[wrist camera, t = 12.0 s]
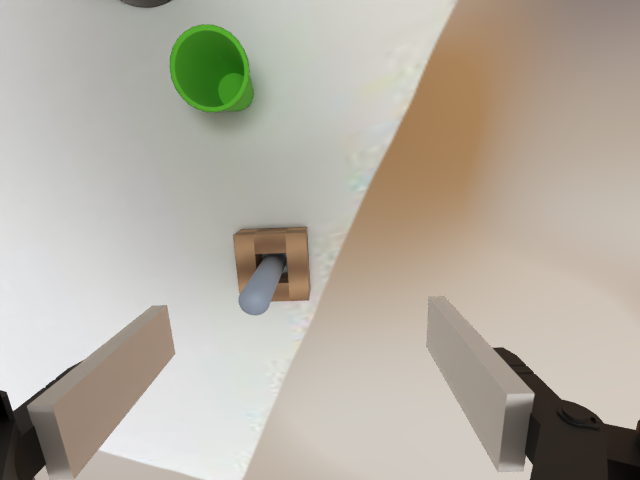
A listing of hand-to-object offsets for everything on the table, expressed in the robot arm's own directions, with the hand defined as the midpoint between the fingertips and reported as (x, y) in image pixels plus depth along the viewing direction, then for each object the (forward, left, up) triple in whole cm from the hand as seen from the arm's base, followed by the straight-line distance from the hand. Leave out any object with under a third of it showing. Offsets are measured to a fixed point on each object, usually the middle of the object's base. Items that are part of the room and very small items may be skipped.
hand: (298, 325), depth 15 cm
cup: (-19, -11, -35) cm, 41 cm away
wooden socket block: (+7, -7, -35) cm, 36 cm away
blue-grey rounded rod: (+7, -7, -35) cm, 36 cm away
